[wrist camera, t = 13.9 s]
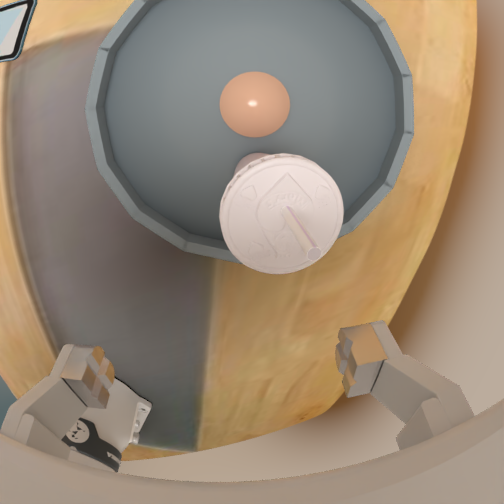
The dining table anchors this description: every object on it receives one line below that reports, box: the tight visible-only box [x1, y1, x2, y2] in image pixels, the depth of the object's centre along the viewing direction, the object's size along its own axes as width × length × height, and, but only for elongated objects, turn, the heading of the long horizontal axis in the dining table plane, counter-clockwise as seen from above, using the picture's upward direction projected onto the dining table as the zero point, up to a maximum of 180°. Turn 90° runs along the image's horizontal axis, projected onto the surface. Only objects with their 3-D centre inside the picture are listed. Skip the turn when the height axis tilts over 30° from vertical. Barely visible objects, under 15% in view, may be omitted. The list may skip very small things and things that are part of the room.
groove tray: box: [85, 0, 414, 264], centre depth 19 cm, size 26×26×2 cm
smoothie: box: [219, 153, 344, 274], centre depth 16 cm, size 6×6×14 cm
